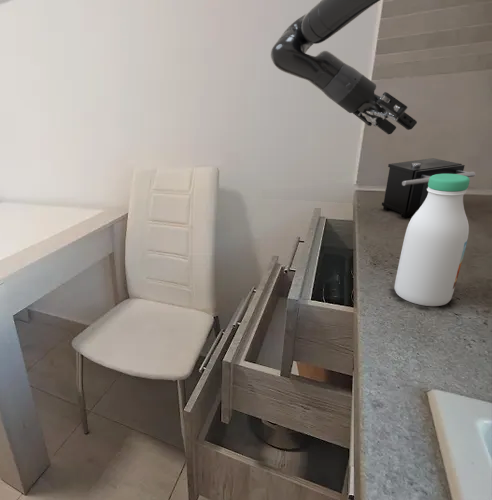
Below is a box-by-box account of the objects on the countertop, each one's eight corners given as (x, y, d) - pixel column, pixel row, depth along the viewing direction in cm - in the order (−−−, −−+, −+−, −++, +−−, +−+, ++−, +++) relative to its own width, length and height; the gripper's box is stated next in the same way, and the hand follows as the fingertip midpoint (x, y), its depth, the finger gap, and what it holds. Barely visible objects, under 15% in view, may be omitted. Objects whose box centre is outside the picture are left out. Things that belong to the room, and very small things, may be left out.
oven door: (469, 210, 86) (480, 168, 82) (398, 220, 85) (406, 178, 81) (452, 205, 90) (462, 164, 86) (385, 214, 89) (392, 174, 85)
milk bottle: (444, 313, 56) (479, 186, 48) (387, 297, 62) (410, 180, 53) (455, 292, 61) (489, 172, 53) (401, 279, 66) (424, 168, 58)
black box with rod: (449, 212, 91) (462, 160, 86) (404, 218, 90) (414, 166, 85) (423, 203, 99) (433, 154, 93) (380, 208, 98) (388, 160, 93)
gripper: (373, 64, 79) (434, 109, 79) (346, 81, 93) (397, 119, 93) (349, 95, 80) (408, 139, 81) (325, 107, 94) (376, 145, 94)
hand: (402, 128), depth 87 cm, fingers open, 8 cm apart
